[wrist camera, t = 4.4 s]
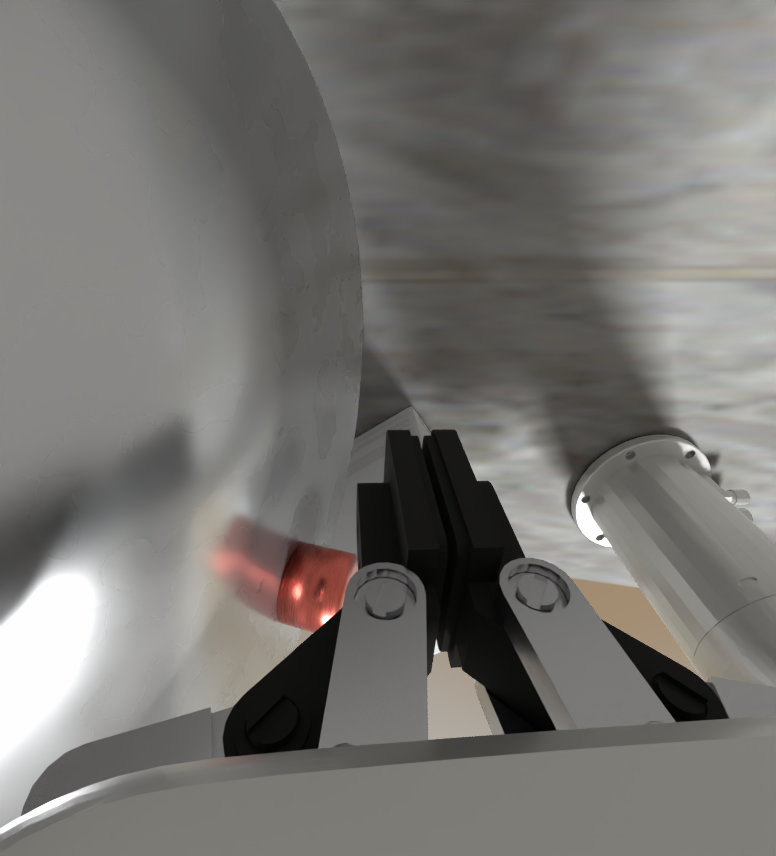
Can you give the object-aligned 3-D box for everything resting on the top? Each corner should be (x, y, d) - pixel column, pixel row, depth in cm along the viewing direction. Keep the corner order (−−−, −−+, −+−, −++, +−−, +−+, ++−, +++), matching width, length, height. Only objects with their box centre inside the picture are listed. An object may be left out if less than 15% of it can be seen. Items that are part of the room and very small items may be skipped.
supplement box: (377, 522, 43) (392, 679, 30) (320, 456, 39) (309, 606, 26) (463, 476, 41) (519, 623, 28) (413, 402, 37) (451, 534, 24)
